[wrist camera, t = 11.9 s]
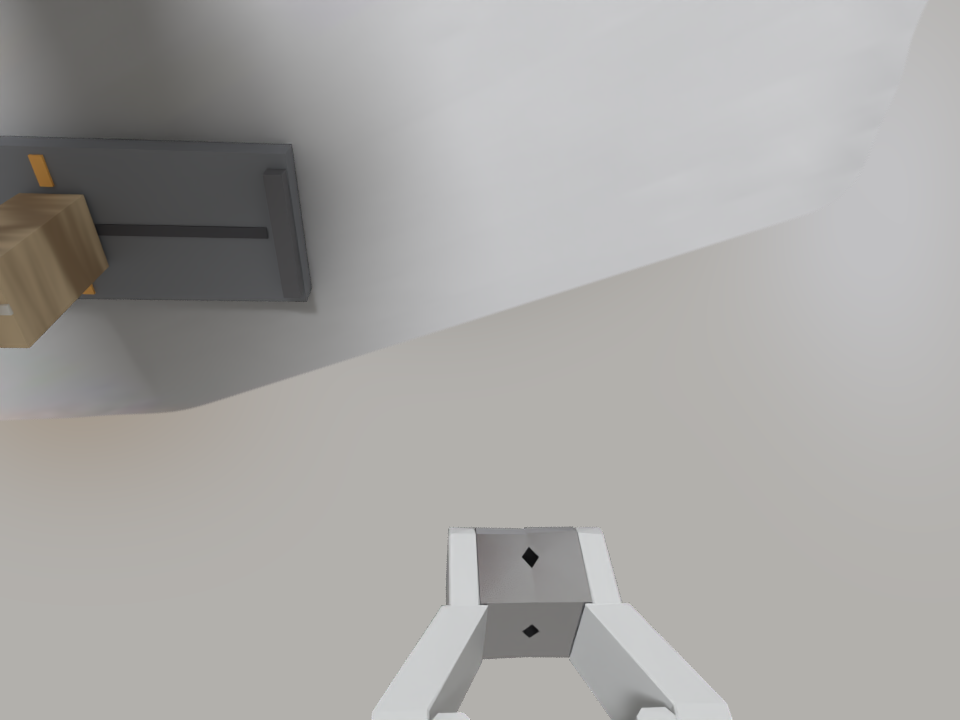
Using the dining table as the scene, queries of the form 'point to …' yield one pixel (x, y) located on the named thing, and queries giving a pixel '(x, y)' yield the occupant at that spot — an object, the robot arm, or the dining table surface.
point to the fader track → (176, 214)
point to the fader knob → (44, 262)
